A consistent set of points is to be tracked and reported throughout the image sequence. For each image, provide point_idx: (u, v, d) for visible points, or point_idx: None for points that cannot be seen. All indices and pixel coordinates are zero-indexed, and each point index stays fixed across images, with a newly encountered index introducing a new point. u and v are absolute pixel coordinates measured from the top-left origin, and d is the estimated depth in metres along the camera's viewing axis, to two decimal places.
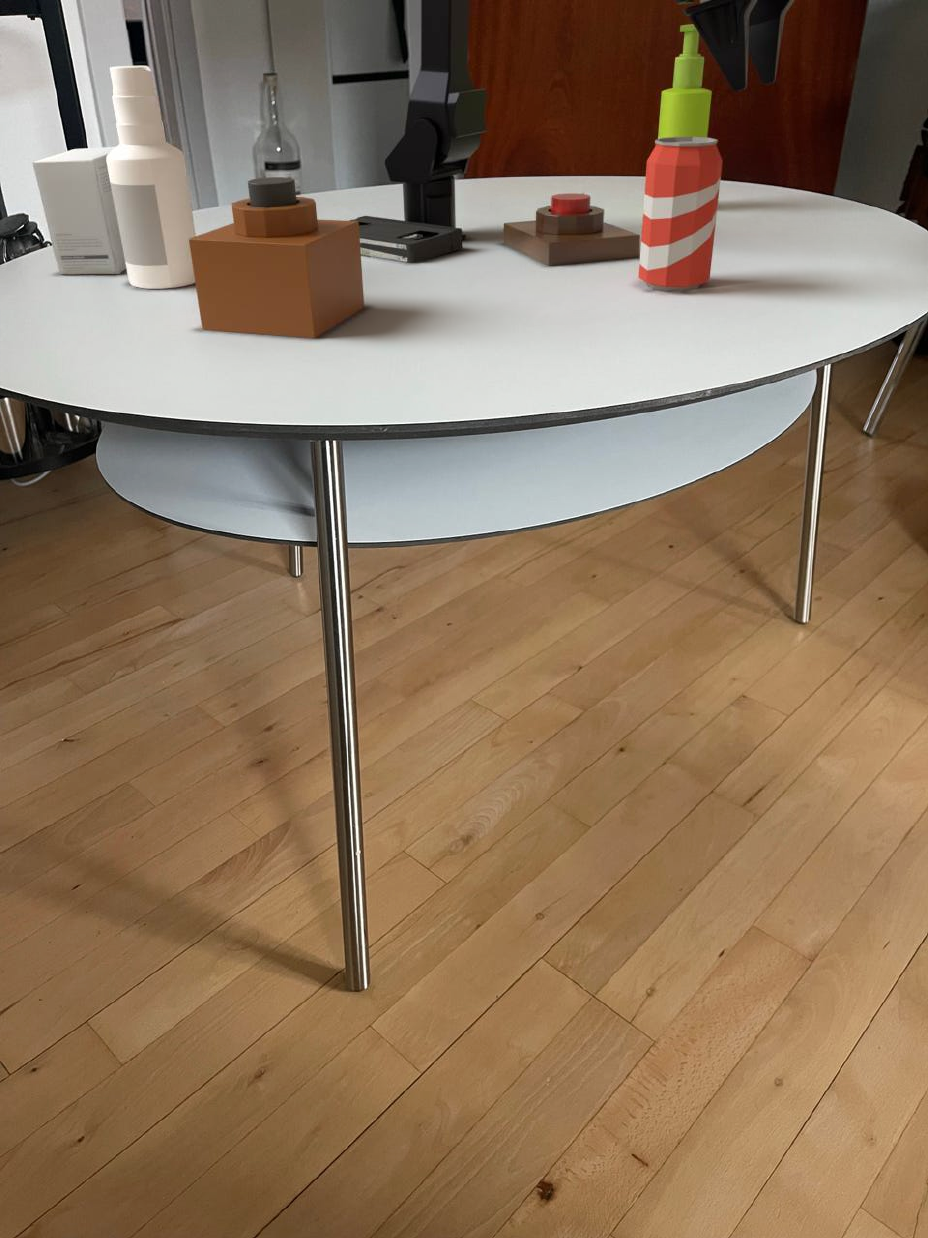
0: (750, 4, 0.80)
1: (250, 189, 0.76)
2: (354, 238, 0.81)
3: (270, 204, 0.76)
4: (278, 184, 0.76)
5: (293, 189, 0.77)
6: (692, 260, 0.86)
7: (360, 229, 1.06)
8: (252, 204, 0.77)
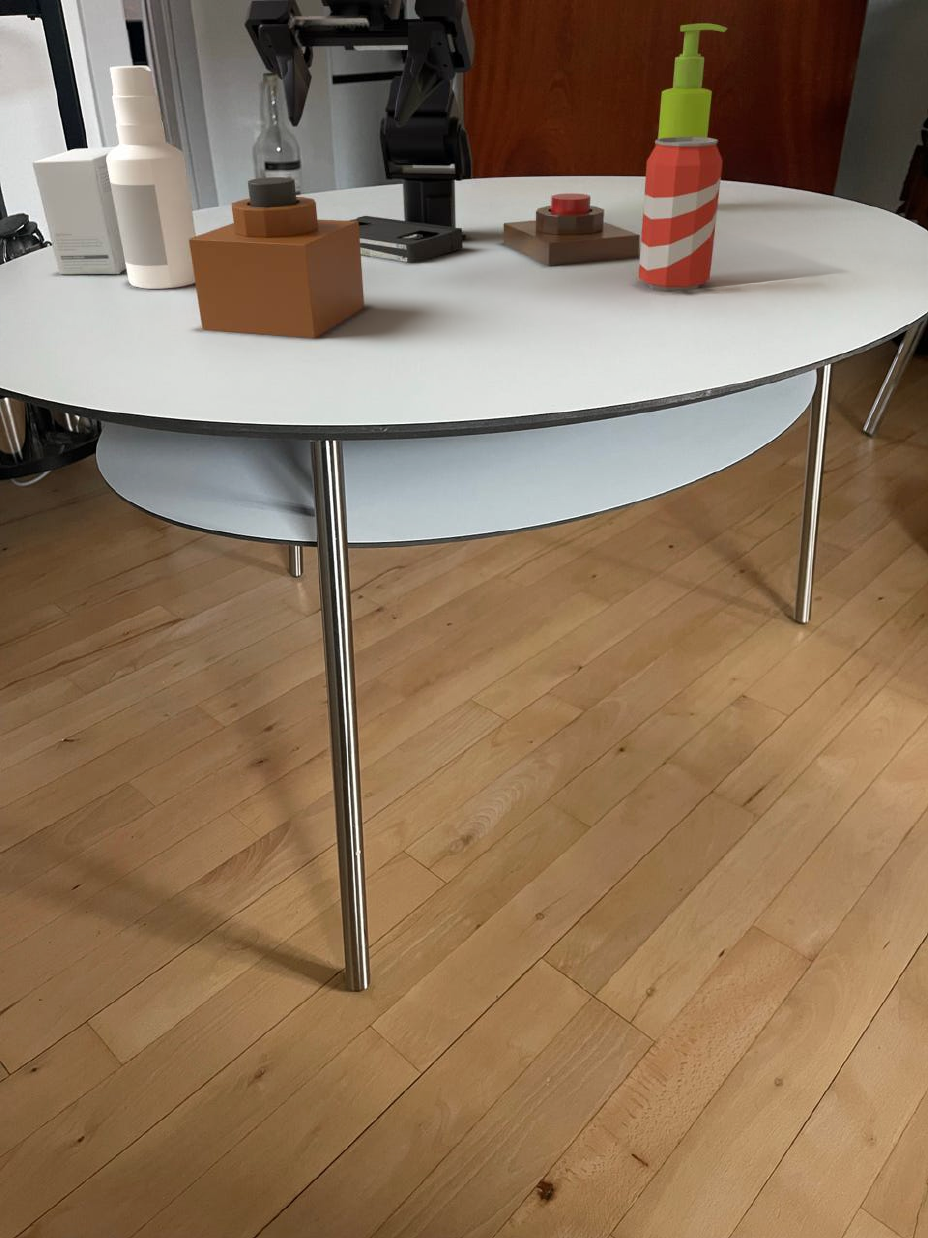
0: (276, 43, 0.82)
1: (250, 189, 0.76)
2: (354, 238, 0.81)
3: (270, 204, 0.76)
4: (278, 184, 0.76)
5: (293, 189, 0.77)
6: (692, 260, 0.86)
7: (360, 229, 1.06)
8: (252, 204, 0.77)
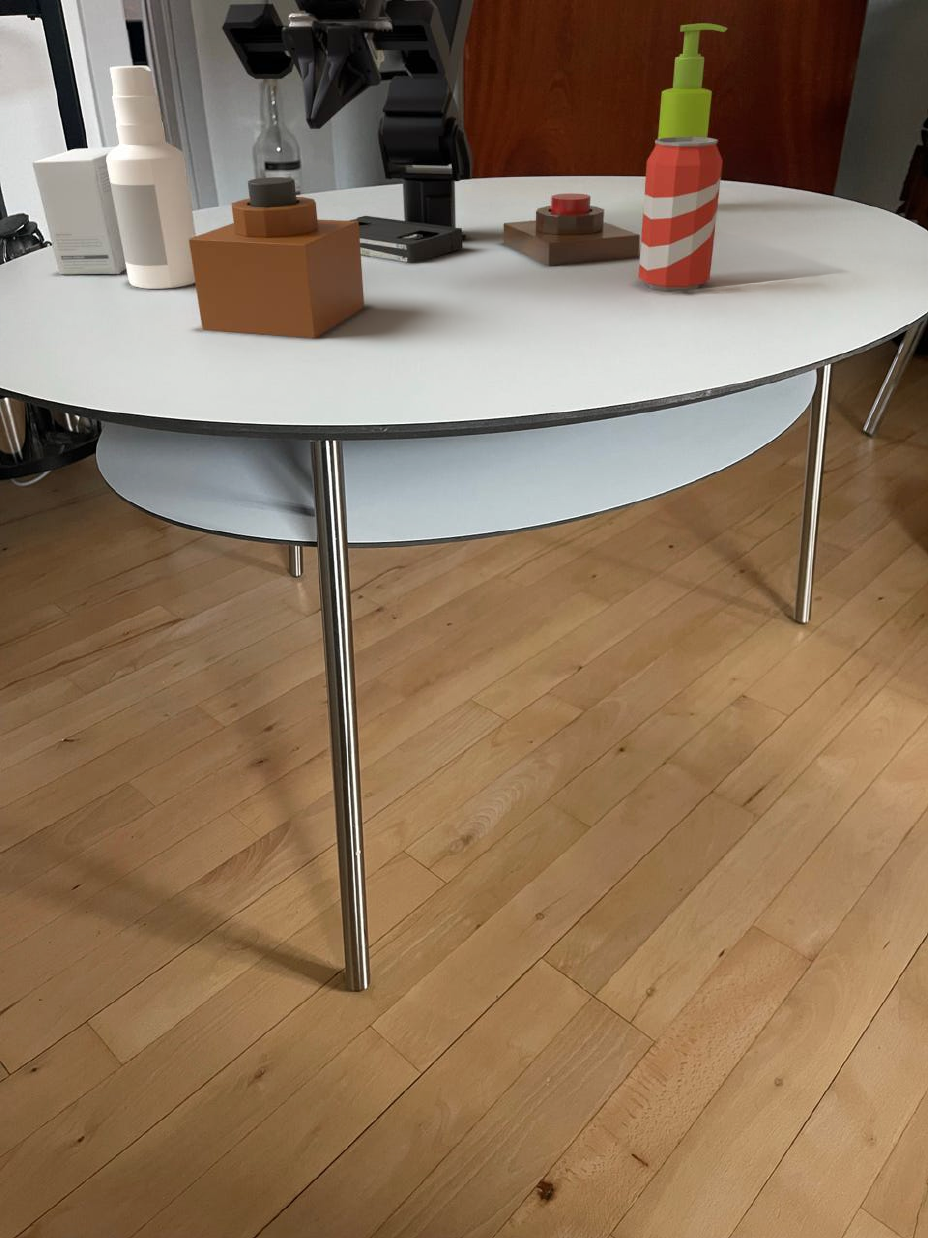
0: (298, 45, 0.82)
1: (250, 189, 0.76)
2: (354, 238, 0.81)
3: (270, 204, 0.76)
4: (278, 184, 0.76)
5: (293, 189, 0.77)
6: (692, 260, 0.86)
7: (360, 229, 1.06)
8: (252, 204, 0.77)
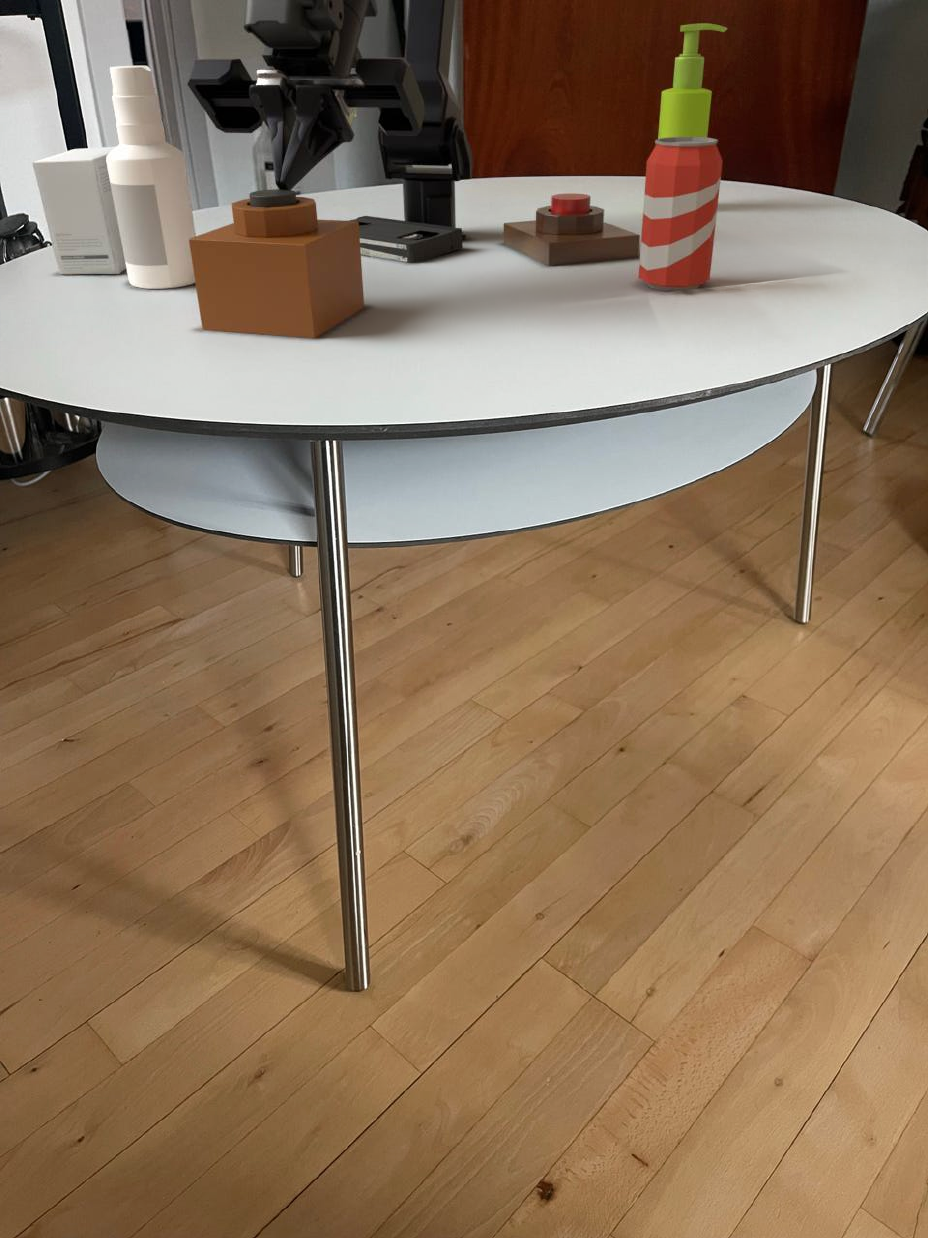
0: (266, 104, 0.78)
1: (251, 201, 0.77)
2: (354, 238, 0.81)
3: None
4: (279, 196, 0.76)
5: (294, 201, 0.77)
6: (692, 260, 0.86)
7: (360, 229, 1.06)
8: None
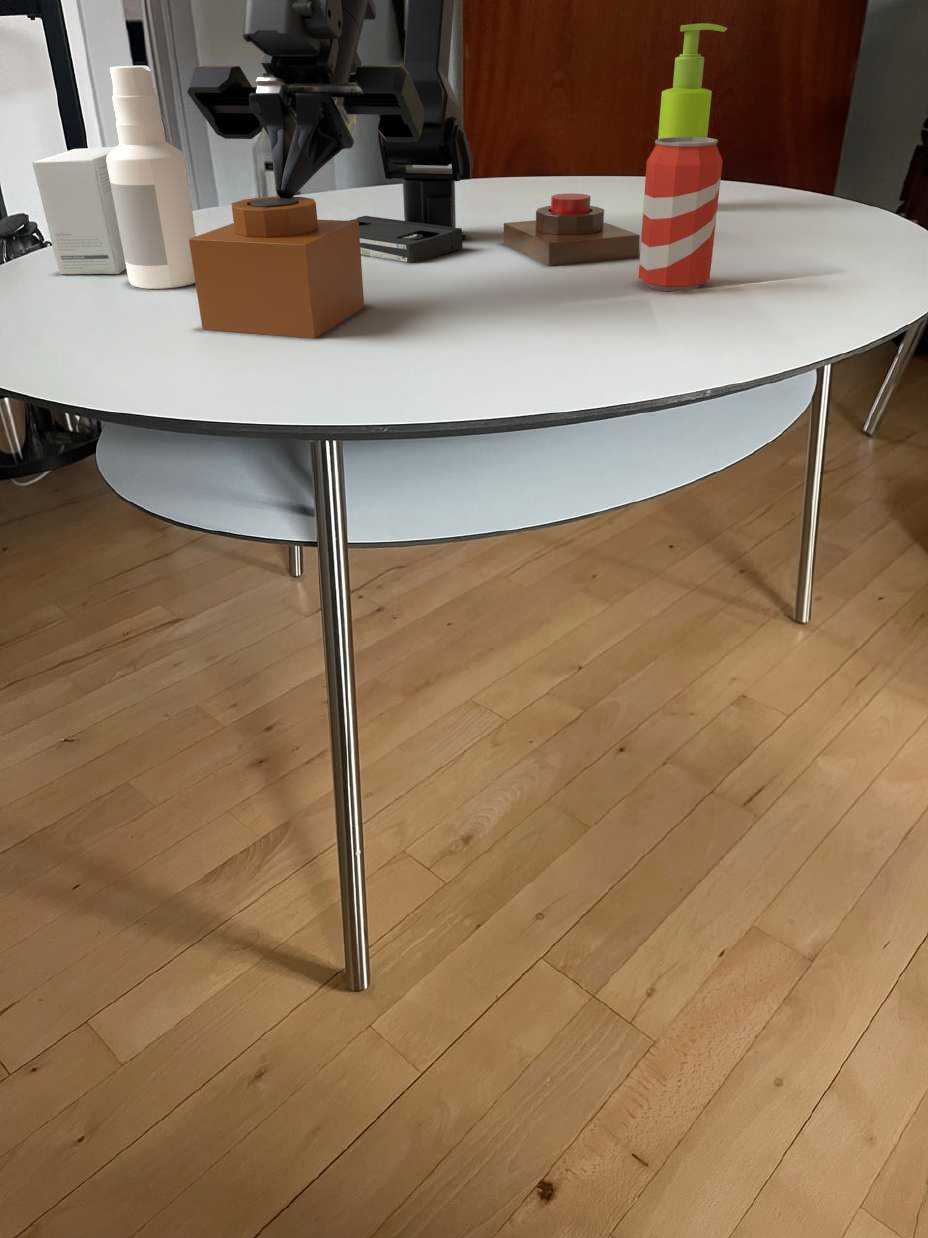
0: (266, 112, 0.78)
1: None
2: (354, 238, 0.81)
3: None
4: (280, 205, 0.76)
5: None
6: (692, 260, 0.86)
7: (360, 229, 1.06)
8: None
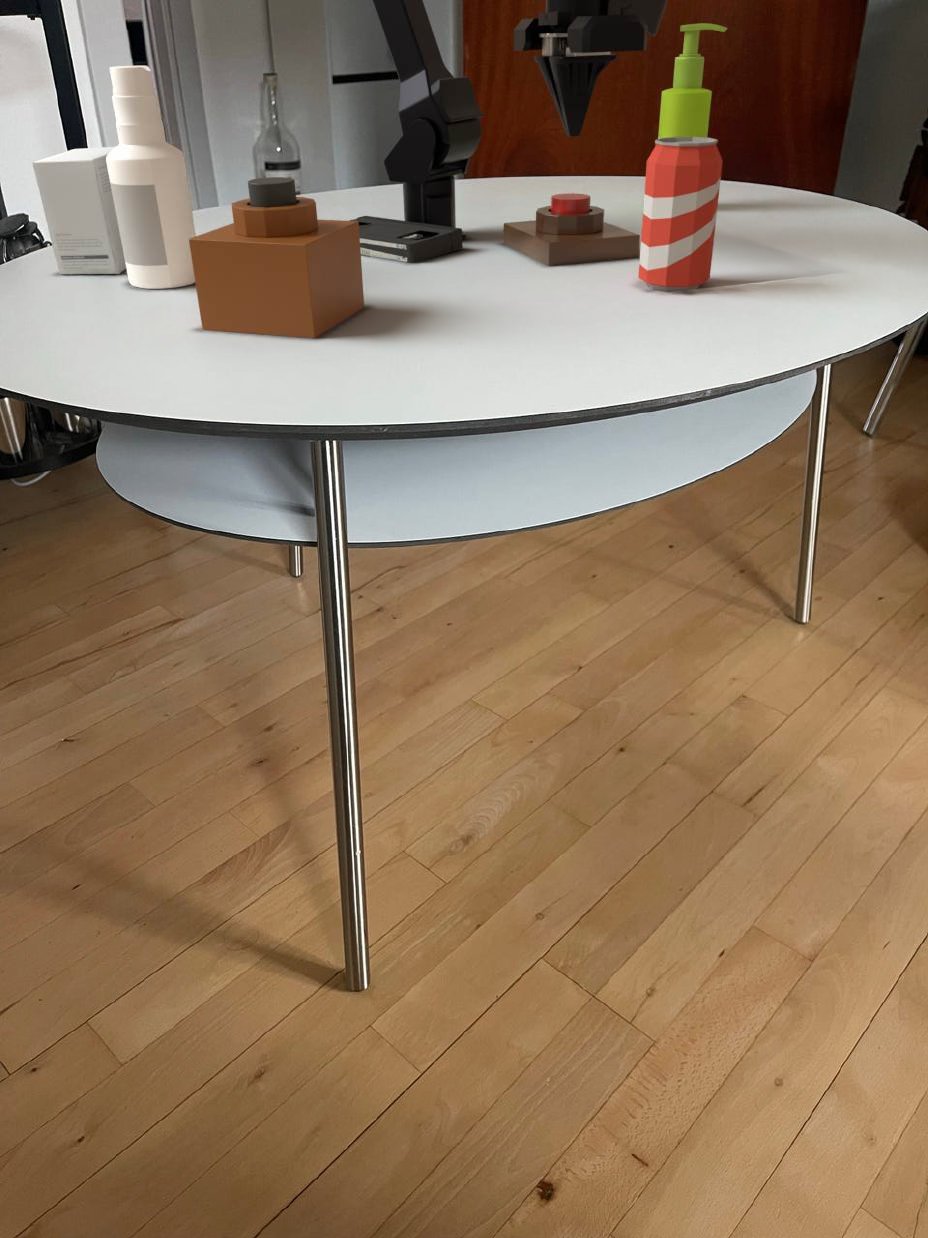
0: None
1: (250, 189, 0.76)
2: (354, 238, 0.81)
3: (270, 204, 0.76)
4: (278, 184, 0.76)
5: (293, 189, 0.77)
6: (692, 260, 0.86)
7: (360, 229, 1.06)
8: (252, 204, 0.77)
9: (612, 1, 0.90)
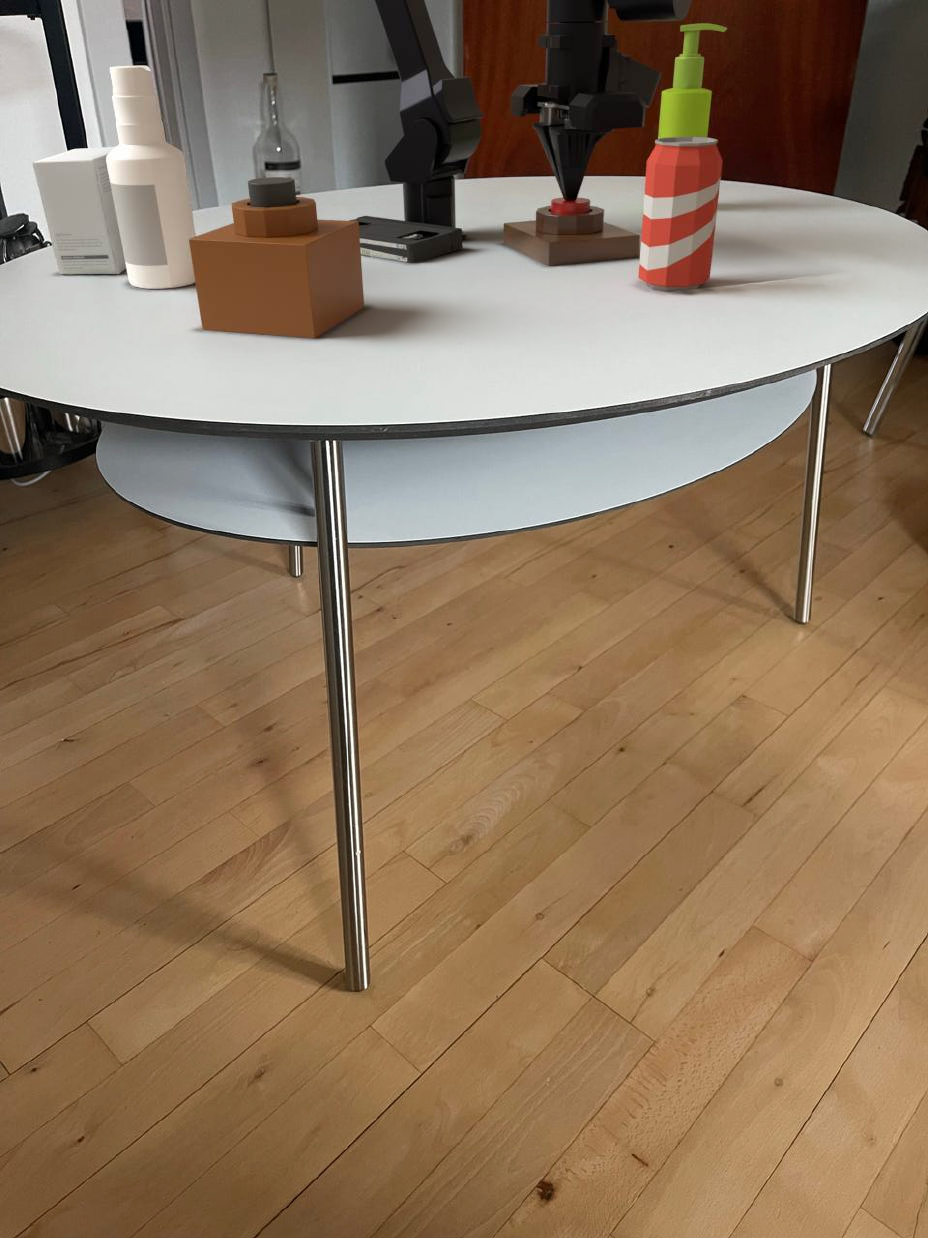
0: None
1: (250, 189, 0.76)
2: (354, 238, 0.81)
3: (270, 204, 0.76)
4: (278, 184, 0.76)
5: (293, 189, 0.77)
6: (692, 260, 0.86)
7: (360, 229, 1.06)
8: (252, 204, 0.77)
9: (610, 76, 0.94)
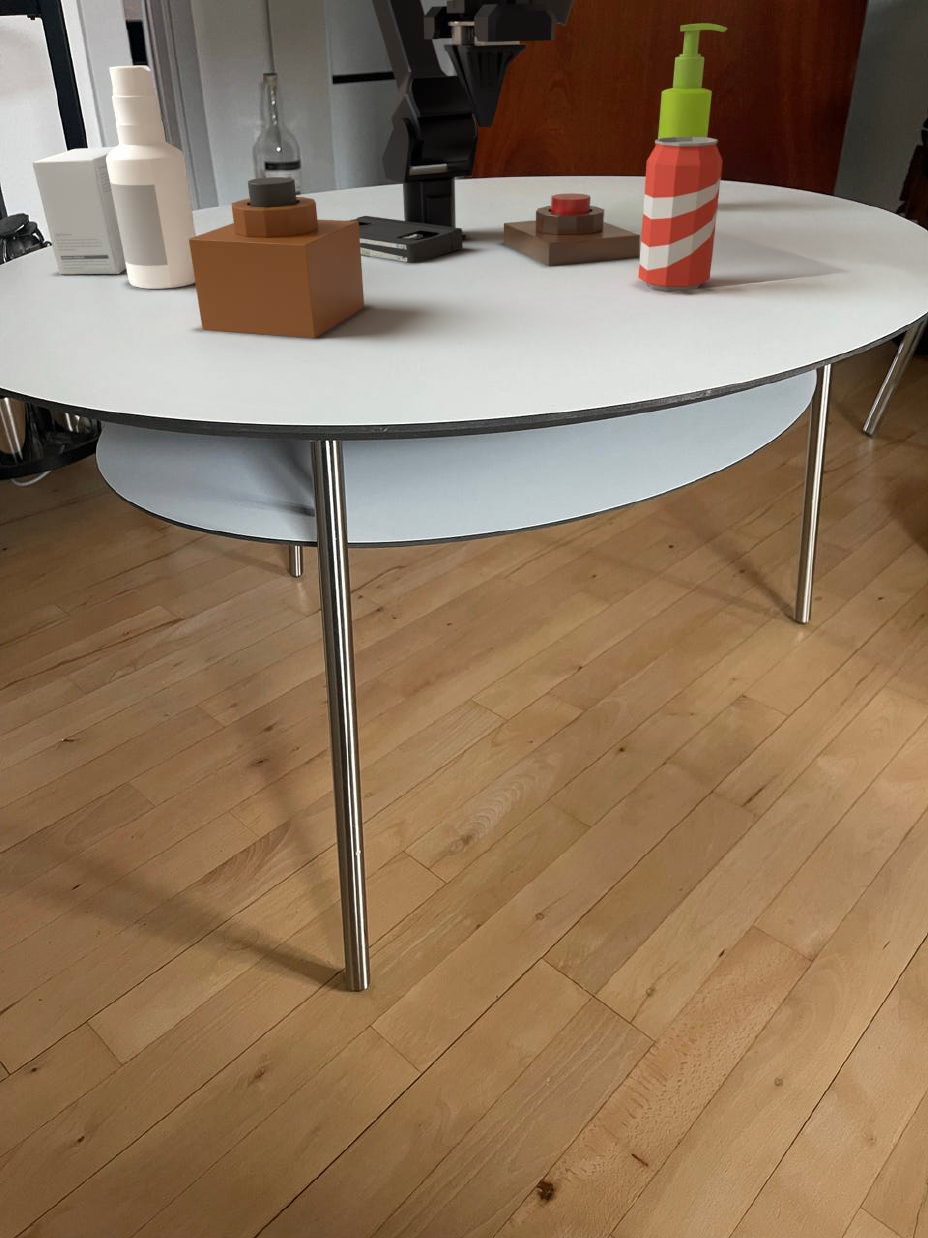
0: None
1: (250, 189, 0.76)
2: (354, 238, 0.81)
3: (270, 204, 0.76)
4: (278, 184, 0.76)
5: (293, 189, 0.77)
6: (692, 260, 0.86)
7: (360, 229, 1.06)
8: (252, 204, 0.77)
9: None
